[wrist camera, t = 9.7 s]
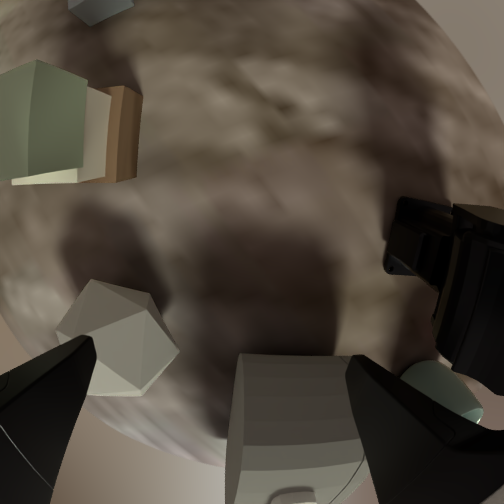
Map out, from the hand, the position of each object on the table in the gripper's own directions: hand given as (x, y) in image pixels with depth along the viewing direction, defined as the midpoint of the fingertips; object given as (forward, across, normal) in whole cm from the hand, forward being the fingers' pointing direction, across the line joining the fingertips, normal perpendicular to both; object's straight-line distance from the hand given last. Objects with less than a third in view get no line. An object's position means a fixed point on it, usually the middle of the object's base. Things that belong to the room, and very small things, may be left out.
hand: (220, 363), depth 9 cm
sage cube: (+6, +10, -8) cm, 14 cm away
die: (+13, +8, +7) cm, 17 cm away
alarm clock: (+13, -6, +17) cm, 22 cm away
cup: (+13, -22, +14) cm, 29 cm away
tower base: (+13, +10, -8) cm, 18 cm away
